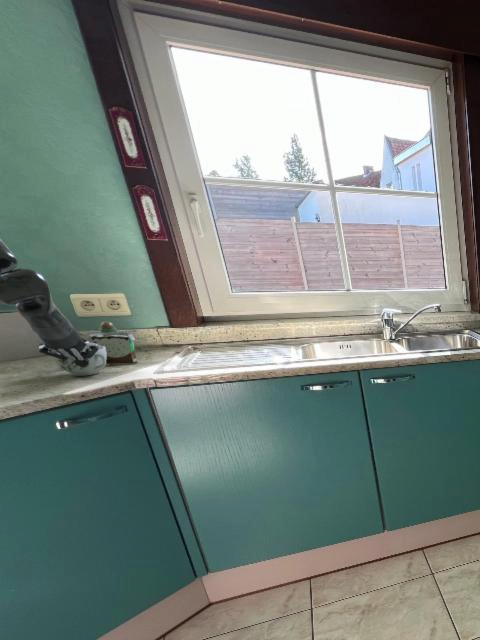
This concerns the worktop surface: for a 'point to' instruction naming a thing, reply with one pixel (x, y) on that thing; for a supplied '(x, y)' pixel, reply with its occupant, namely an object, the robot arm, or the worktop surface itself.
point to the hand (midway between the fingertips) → (84, 364)
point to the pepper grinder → (107, 327)
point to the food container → (117, 347)
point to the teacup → (93, 368)
